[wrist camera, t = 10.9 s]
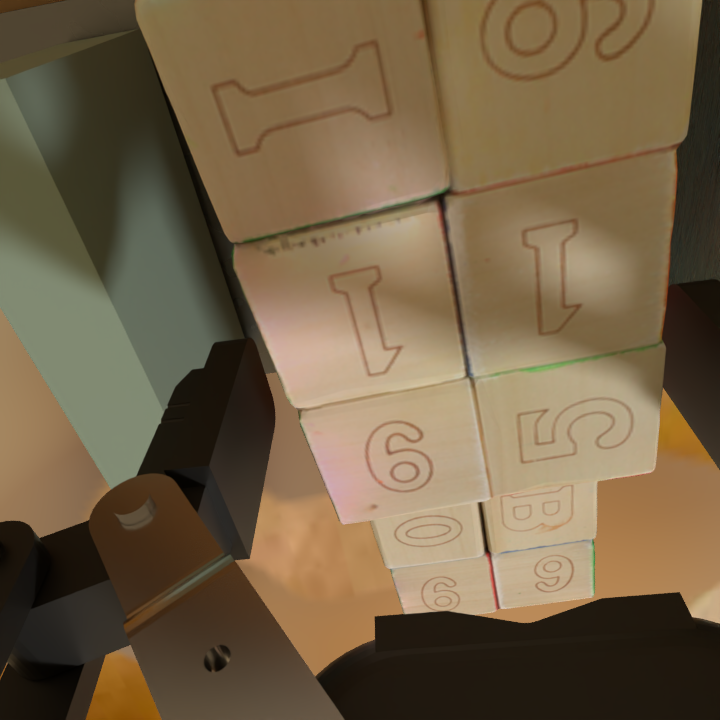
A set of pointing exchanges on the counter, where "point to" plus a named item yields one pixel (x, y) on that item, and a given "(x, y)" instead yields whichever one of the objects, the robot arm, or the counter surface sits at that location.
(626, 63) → the stack of blocks
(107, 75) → the sliding jaw
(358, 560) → the counter surface
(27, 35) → the vise
